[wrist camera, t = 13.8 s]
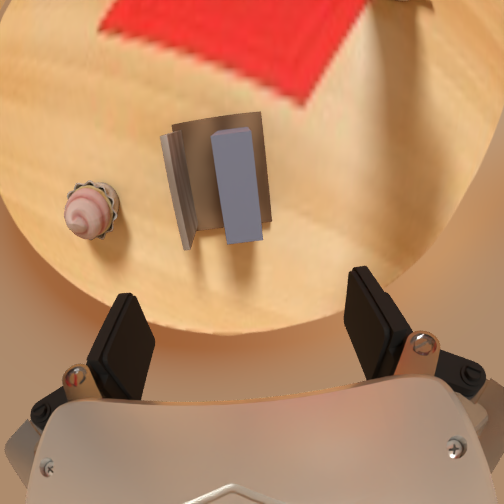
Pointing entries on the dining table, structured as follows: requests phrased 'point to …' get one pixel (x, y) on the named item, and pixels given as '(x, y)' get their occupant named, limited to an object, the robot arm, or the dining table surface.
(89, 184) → the cupcake
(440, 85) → the dining table surface
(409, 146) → the dining table surface
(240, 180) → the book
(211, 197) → the bent wood veneer panel
